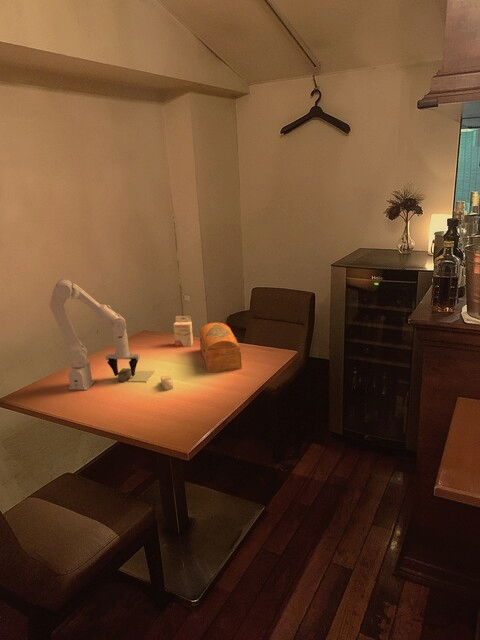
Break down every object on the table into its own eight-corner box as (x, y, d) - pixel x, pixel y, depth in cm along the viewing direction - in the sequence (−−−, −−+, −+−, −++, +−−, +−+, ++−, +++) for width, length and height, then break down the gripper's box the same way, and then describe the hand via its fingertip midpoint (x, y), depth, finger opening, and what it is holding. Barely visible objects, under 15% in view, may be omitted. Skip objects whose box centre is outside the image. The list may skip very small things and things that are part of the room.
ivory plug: (173, 389, 186) (173, 380, 185) (165, 390, 185) (164, 382, 184) (168, 380, 195) (167, 373, 194) (160, 382, 193) (159, 374, 192)
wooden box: (244, 369, 203) (242, 339, 200) (206, 373, 201) (204, 342, 197) (233, 347, 232) (232, 320, 228) (200, 350, 230) (198, 323, 226)
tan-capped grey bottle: (125, 382, 195) (124, 374, 194) (117, 382, 196) (116, 374, 195) (133, 373, 204) (132, 366, 203) (125, 373, 204) (124, 366, 203)
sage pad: (146, 382, 194) (146, 381, 194) (127, 381, 196) (127, 380, 196) (154, 371, 205) (154, 370, 205) (137, 371, 206) (137, 370, 206)
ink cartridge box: (174, 346, 236) (172, 318, 232) (177, 343, 241) (174, 315, 237) (191, 346, 235) (189, 318, 231) (193, 343, 240) (191, 315, 236)
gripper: (141, 341, 198) (144, 371, 202) (108, 341, 200) (112, 371, 204) (135, 347, 191) (138, 378, 195) (101, 347, 193) (105, 377, 197)
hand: (124, 375), depth 199 cm, fingers open, 7 cm apart
